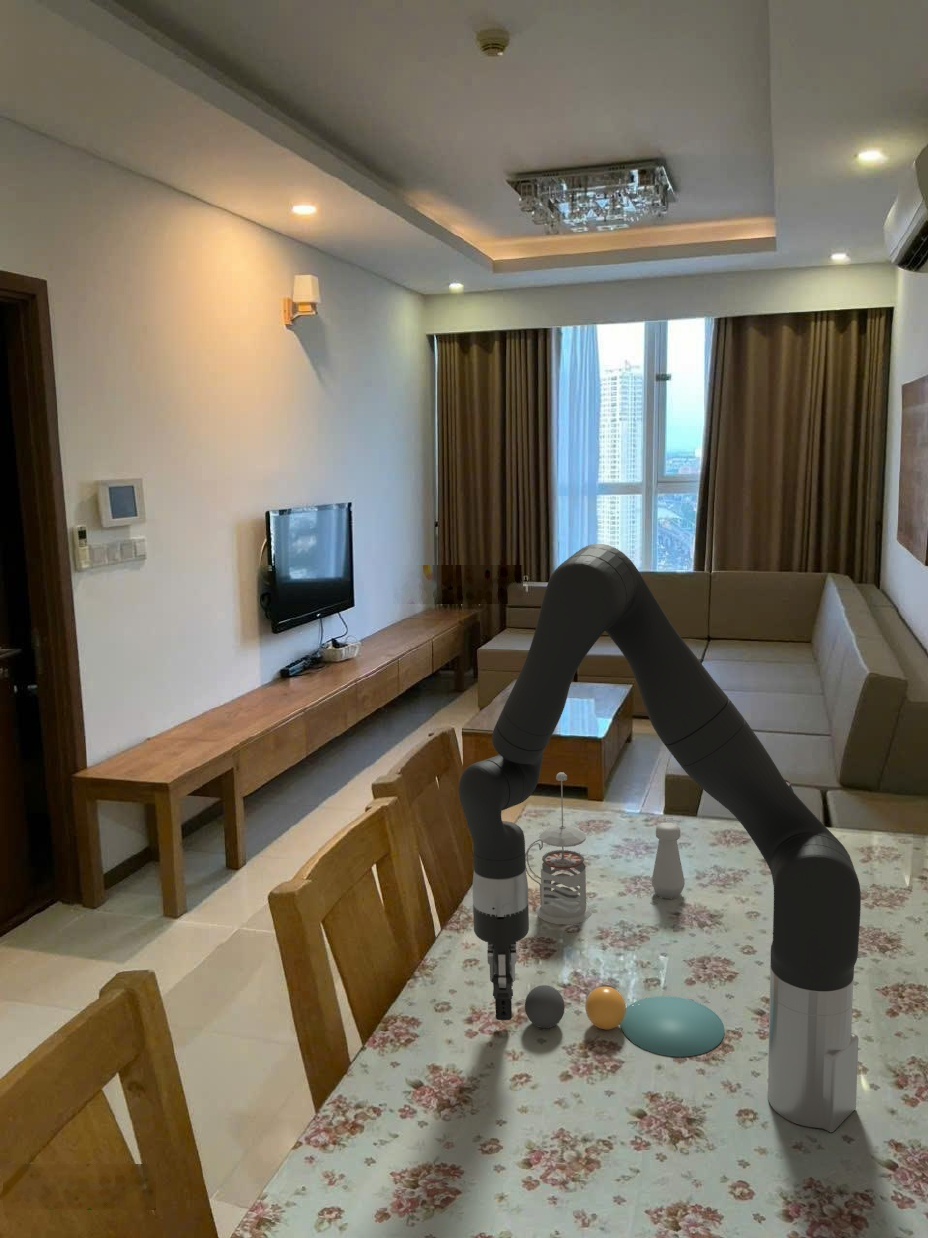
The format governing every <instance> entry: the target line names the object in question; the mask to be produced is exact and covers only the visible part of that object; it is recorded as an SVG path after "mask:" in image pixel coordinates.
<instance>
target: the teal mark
mask: <svg viewBox="0 0 928 1238" xmlns="http://www.w3.org/2000/svg"><path fill="white" fill-rule="evenodd" d="M638 1004H640V1005H638ZM632 1005H634V1006H632ZM620 1025H621V1026H620ZM619 1026H620V1029H621V1028H622V1029H621V1032H622V1033H623V1032H624V1033H623V1034H624V1036H625V1035H626V1036H627V1037H628V1038H629V1039H630V1040H631V1041H632V1042H631V1041H630V1040H629V1039H628V1038H627V1037H626V1036H625V1037H626V1038H627V1039H628V1040H629V1041H630V1042H631V1043H633V1044H634V1043H635V1044H636V1045H635V1044H634V1045H635V1046H637V1045H638V1046H637V1047H639V1046H640V1047H639V1048H641V1049H643V1050H645V1051H648V1052H650V1053H653V1054H657V1055H661V1056H667V1057H678V1058H682V1057H683V1058H684V1057H685V1058H686V1057H693V1056H699V1055H703V1054H705V1053H708V1052H710V1051H712V1050H714V1049H715V1048H717V1047H718V1046H719V1045H720V1044H721V1042H722V1041H723V1039H724V1037H725V1026H724V1023H723V1020H722V1019H721V1017H720V1016H719V1015H718V1014H717V1013H716V1012H715V1011H713V1010H712V1009H711V1008H709V1007H707V1006H706V1005H704V1004H702V1003H701V1002H700V1003H699V1002H697V1001H695V1000H691V999H689V998H685V997H679V996H671V995H666V996H665V995H662V996H661V995H659V996H658V995H657V996H651V997H646V998H642V999H639V1000H636V1001H634V1002H632V1003H630V1004H629V1005H628V1006H626V1013H625V1017H624V1019H623V1021H622V1022H621V1023H620V1024H619Z"/></svg>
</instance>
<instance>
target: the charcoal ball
mask: <svg viewBox="0 0 928 1238" xmlns="http://www.w3.org/2000/svg"><path fill="white" fill-rule="evenodd" d="M565 1009H566V1007H565V1001H564V998H563V996H562V994H561V993H560V991H559V990H557V989H556V988H555V987H553V986H550V985H547V984H544V985H543V984H542V985H537V986H535V987H534V988H532V989H531V990H530V991H529V992H528V994H527V995H526V997H525V1000H524V1011H525V1014H526V1017H527V1018H528V1020H529V1021H530V1022H531V1023H532V1024H533V1025H535V1026H536V1027H539V1028H542V1029H548V1028H552V1027H554V1026H556V1025H557V1024H559V1023H560V1021H561V1020H562V1019H563V1016H564V1014H565Z"/></svg>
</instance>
